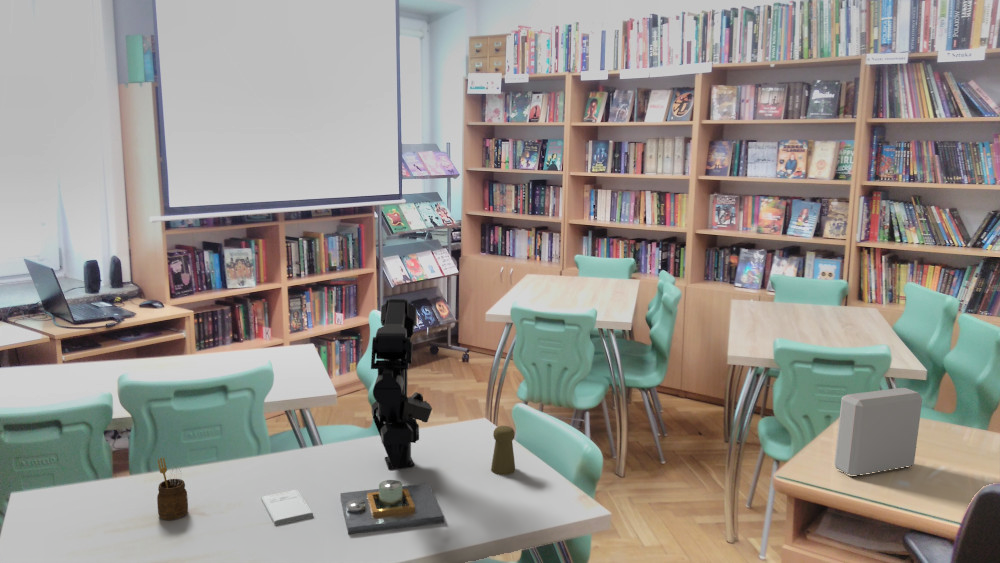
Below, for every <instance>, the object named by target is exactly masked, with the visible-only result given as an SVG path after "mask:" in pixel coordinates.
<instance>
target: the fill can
mask: <svg viewBox="0 0 1000 563" xmlns="http://www.w3.org/2000/svg"><path fill="white" fill-rule="evenodd" d="M402 486H403V483H402V481H399V480H397V479H387V480H384V481H381V482H380V483H379V484H378V489H379V504H378V509H383V508H392V507H400V506H403V502H402Z"/></svg>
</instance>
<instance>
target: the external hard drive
mask: <svg viewBox="0 0 1000 563" xmlns="http://www.w3.org/2000/svg"><path fill="white" fill-rule="evenodd" d="M260 500H261V503H262V505H263V506H264V508H265V510H266V512H267V514H268V516H269V517H270V519H271V521H272V523H273V525H274V526H277V525H281V524H286V523H290V522H295V521H299V520H304V519H308V518H312V517H314V512H313V511H312V510H311V508H310V506H309V505H308V504H307V502H306V501H305V499H304V497H303V496H302V495H301V493H300V492H299V490H298V489H292V490H288V491H283V492H278V493H273V494H267V495H264V496H262V497H261V498H260Z"/></svg>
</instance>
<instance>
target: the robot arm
mask: <svg viewBox="0 0 1000 563" xmlns="http://www.w3.org/2000/svg"><path fill="white" fill-rule="evenodd" d="M417 310H418V309H417V307H416V306H415V305H413V304H412V303H410V302H409V300H408V299H406V298H389V299H386V302H385V303H384V304H383V305H381V307H380V323H381V327H378V329H377V330H376V334H375V336H373V337H372V344H371V359H370V361H371V362H370V370H377V377H376V379H375V383H374V386H373V390H372V395H373V398H374V400H375V401H374V402H373V404H371V415H372V419H373V422H374V424H375V426H376V429H377V432H378V433H379V436H380V439H381V440H380V441H381V444H382V445H383V447H384V449H385V453H386V454H387V456H384V461H385V463H386V466H387V469H388V470H392V469H401V468H402V469H403V468H413V467H415V461H414V460H413V458H412V443H414V444H417V441H420V426H419V424H418V422H417V420H418V421H421V422H423V423H428V421H429V418H430V417H431V413H432V410H433V408H432V406H431V404H430V403H429V402H427V400H424V396H423V394H422V393H420V392H414V393H413V394H412V395H411V396H408V370H409V366H410V365H412V363H413V362H412V359H413V342H412V341H411V338H412V336H413V334H414V332H415V327H417V325H418V311H417ZM376 359H377V360H376Z"/></svg>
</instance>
